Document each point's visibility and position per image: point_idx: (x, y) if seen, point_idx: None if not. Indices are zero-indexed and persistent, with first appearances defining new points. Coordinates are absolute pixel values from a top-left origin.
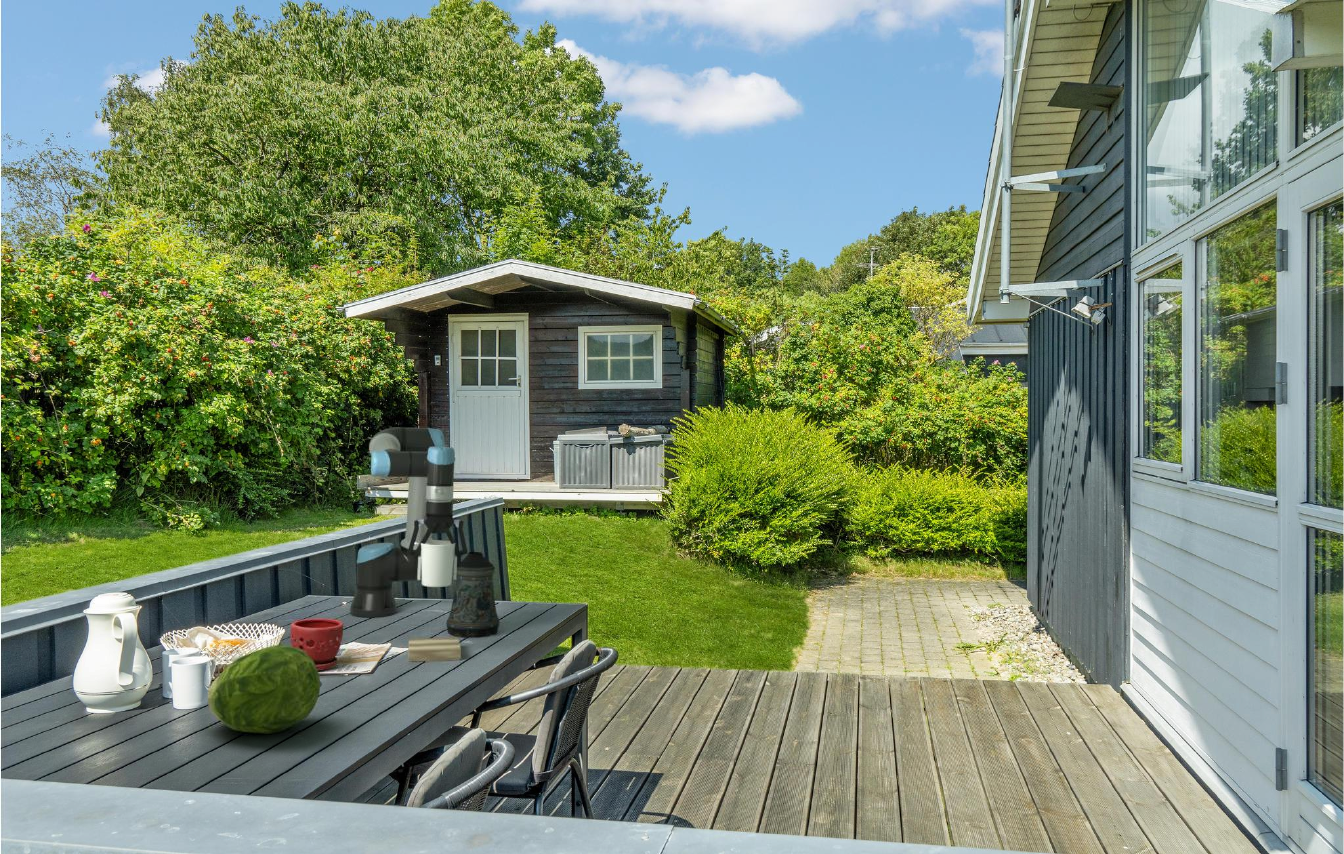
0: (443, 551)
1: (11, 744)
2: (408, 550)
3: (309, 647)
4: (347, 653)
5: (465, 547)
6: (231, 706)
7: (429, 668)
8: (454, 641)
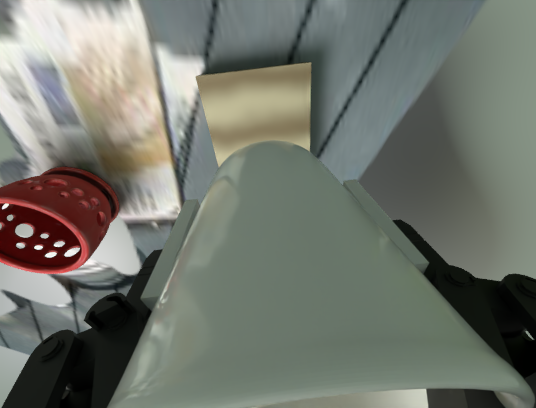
0: (328, 397)
1: (9, 348)
2: (73, 395)
3: (75, 247)
4: (86, 110)
5: (528, 368)
6: None
7: None
8: (301, 106)
